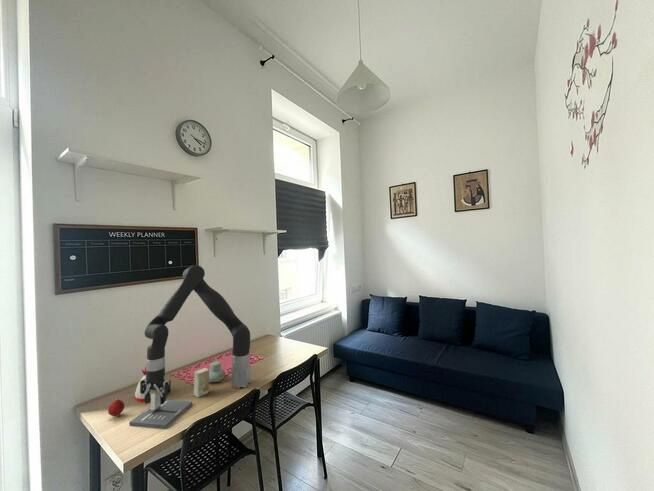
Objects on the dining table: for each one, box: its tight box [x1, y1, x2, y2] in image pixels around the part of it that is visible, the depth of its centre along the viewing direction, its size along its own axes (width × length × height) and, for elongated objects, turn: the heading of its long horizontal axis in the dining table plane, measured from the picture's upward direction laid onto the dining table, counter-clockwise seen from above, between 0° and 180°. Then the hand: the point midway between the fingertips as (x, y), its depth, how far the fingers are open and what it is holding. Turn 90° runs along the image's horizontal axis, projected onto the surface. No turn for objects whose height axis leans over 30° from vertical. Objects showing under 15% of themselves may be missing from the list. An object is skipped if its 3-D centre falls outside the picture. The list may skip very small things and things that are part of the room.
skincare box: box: [193, 367, 210, 398], centre depth 140 cm, size 6×4×12 cm
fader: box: [149, 390, 161, 413], centre depth 123 cm, size 2×5×8 cm, turn 173°
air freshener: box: [209, 361, 226, 383], centre depth 155 cm, size 11×8×10 cm
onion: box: [107, 398, 125, 418], centre depth 121 cm, size 6×6×8 cm
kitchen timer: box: [134, 366, 163, 403], centre depth 139 cm, size 14×14×15 cm
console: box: [128, 399, 193, 430], centre depth 122 cm, size 17×18×2 cm
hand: (155, 403), depth 122 cm, fingers open, 7 cm apart
